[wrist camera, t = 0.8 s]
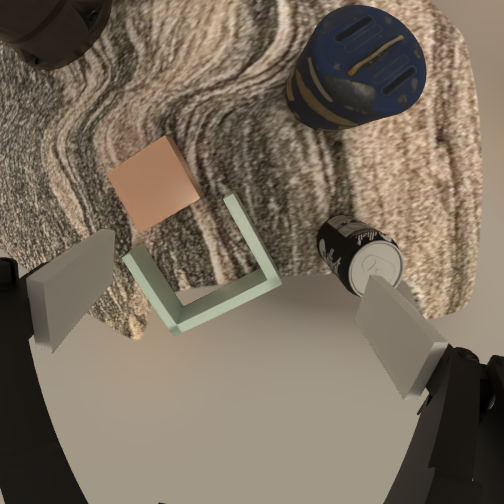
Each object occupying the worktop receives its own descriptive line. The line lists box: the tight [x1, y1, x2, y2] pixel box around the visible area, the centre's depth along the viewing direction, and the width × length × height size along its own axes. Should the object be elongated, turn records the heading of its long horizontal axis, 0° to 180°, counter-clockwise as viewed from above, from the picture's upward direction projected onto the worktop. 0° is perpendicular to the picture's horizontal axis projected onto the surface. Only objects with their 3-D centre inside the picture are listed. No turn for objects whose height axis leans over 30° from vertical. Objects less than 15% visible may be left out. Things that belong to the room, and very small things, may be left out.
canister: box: [286, 5, 426, 132], centre depth 25 cm, size 10×10×18 cm
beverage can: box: [317, 215, 404, 297], centre depth 33 cm, size 7×7×12 cm
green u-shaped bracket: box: [122, 190, 282, 336], centre depth 37 cm, size 11×14×5 cm
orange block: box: [107, 135, 204, 234], centre depth 35 cm, size 8×8×4 cm
